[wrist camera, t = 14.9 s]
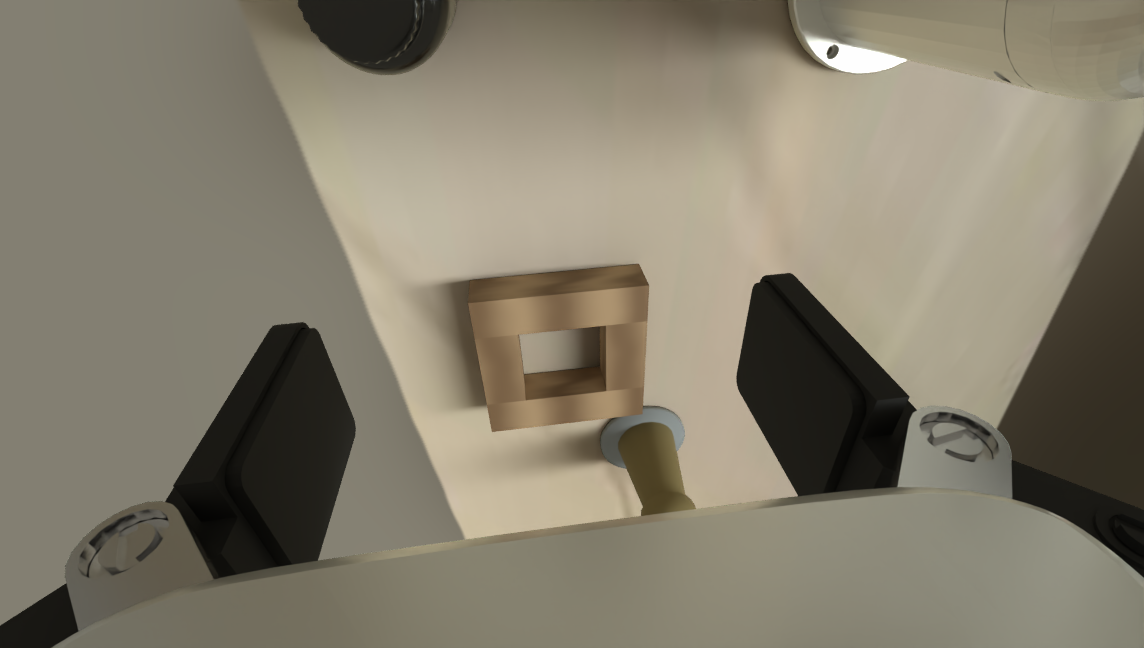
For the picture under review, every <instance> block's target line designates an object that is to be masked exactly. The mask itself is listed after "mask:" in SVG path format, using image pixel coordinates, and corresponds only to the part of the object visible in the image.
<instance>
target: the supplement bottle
mask: <svg viewBox="0 0 1144 648" xmlns="http://www.w3.org/2000/svg"><path fill="white" fill-rule="evenodd" d="M456 3H457V0H298V6H299V8H300V9H301V11H302V12H303V17H304V20H305V21H306V22H307V23H308V24H309V26H310V29H311V31H312V32H313V33H314V34H315V35H316V36H317V37H318V39H319V40H320V42H322V43H323V44H324V45H325V47H326V48H327V49H329V50H330V51H331V52H332V53H333V54H334V55H335V56H337V57H338V58H339V59H341V60H342V61H344V62H345V63H347V64H349V65H351V66H352V67H355V68H357V69H359V70H362V71H365V72H368V73H372V74H378V75H396V74H402V73H405V72H408V71H411V70H413V69H415V68H417V67H419V66H420V65H422V64H423V63H424V62H426V61H427V60H428V59H429V58H430V57H431V56H432V55H433V54H434V53H435V51H436V50H437V49H438V47H439V46H440V44H441V42H442V41H443V39H444V37H445V36H446V34H447V32H448V30H449V29H450V26H451V24H452V22H453V18H454V15H455V10H456Z"/></svg>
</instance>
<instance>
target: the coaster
mask: <svg viewBox="0 0 1144 648" xmlns="http://www.w3.org/2000/svg"><path fill="white" fill-rule="evenodd" d="M645 422H658V423H662V424H664V425H666V426H668V427H669V428H670V429H671V430H672V433H673V436H674V440H675V445H676V451H678V450H679V448H680V447H681V445H682V443H683V440H684V436H685V431H684V427H683V424H682V422H681V420H680V418H679V417H678V416H677V415H676V414H675V413H674V412H672V411H670V410H668V409H666V408H662V407H657V406H643V414H641V415H632V416H623V417H615V418H613V419H612V420H611V421H610V422H609V423H608V424H607V425H606V427H605V428H604V430H603V432H602V434H601V438H600V445H601V450H602V453H603V455H604V457H605V458H606V459H607V460H608V461H609V462H610V463H612V464H613V465H615V466H618V467H621V468H625V469H627V468H626V466H625V464H624V461H623V459H622V457H621V454H620V452H619V450H618V442H619V439H620V437H621V436H622V435H623V434H624V432H625V431H626V430H628V429H630V428H631V427H633V426H635V425H638V424H641V423H645Z"/></svg>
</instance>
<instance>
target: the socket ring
mask: <svg viewBox="0 0 1144 648" xmlns="http://www.w3.org/2000/svg"><path fill="white" fill-rule="evenodd" d="M648 297H649V284H648V282H647V280H646V278H645V276H644V274H643V271H642V269H641V267H640V265H639V264H635V265H624V266H614V267H603V268H593V269H582V270H572V271H561V272H551V273H541V274H530V275H520V276H509V277H499V278H488V279H478V280H470V284H469V296H468V307H469V312H470V317H471V322H472V328H473V333H474V338H475V344H476V349H477V354H478V360H479V365H480V370H481V376H482V381H483V386H484V392H485V397H486V402H487V408H488V413H489V418H490V424H491V429H492V432H495V431H504V430H512V429H521V428H529V427H538V426H546V425H555V424H564V423H572V422H581V421H589V420H598V419H606V418H615V417H623V416H632V415H641V414H643V394H644V375H645V355H646V336H647V316H648ZM597 326H599V328H600V366H599V367H590V368H581V369H572V370H563V371H553V372H544V373H535V374H526V375H524V371H523V363H522V355H521V347H520V339H519V334H529V333H539V332H548V331H558V330H568V329H577V328H587V327H597Z"/></svg>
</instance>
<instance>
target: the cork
mask: <svg viewBox="0 0 1144 648" xmlns="http://www.w3.org/2000/svg"><path fill="white" fill-rule="evenodd" d="M618 450H619V452H620V454H621V457H622V459H623V461H624V464H625V466H626V468H627V471H628V473H629V475H630V478H631V480H632V482H633V485H634V487H635V489H636V492H637V494H638V496H639V498H640V501H641V503H642V505H643V508H642V510H641V516H646V515H653V514H661V513H669V512H677V511H685V510H692V509H696V508H695V505H694V503H693V502H692V500H691V499H690V498H689V497H687V496H686V495H685V491H684V486H683V481H682V476H681V471H680V466H679V461H678V456H677V451H676V445H675V440H674V436H673V433H672V430H671V429H670V428H669V427H668V426H666V425H664V424H662V423H658V422H645V423H641V424H638V425H635V426H633V427H631V428H630V429H628V430H626V431H625V432H624V434H623V435H622V436H621V437H620V439H619V442H618Z"/></svg>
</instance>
